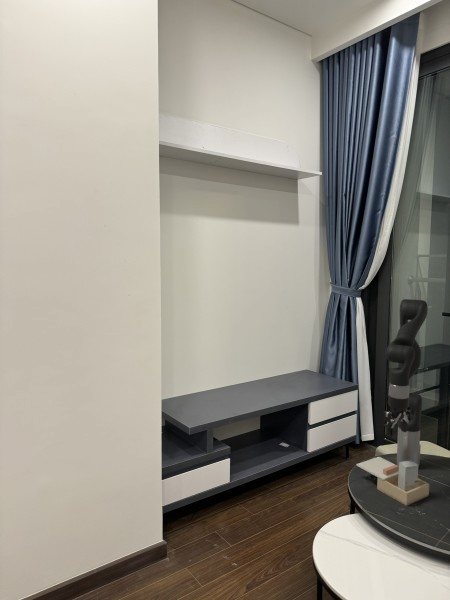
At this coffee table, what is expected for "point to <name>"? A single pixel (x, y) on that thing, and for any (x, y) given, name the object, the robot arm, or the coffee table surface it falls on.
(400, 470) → the skincare box
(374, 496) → the coffee table surface
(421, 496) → the box
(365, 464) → the lid
